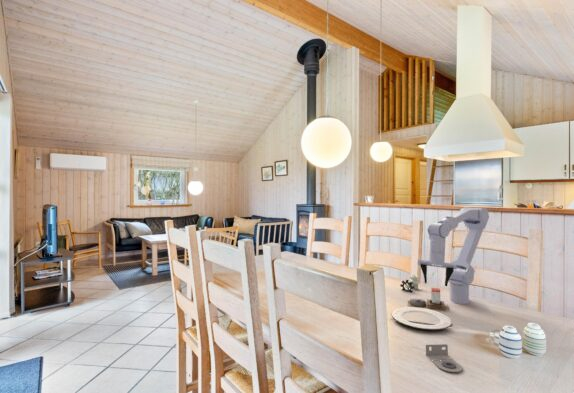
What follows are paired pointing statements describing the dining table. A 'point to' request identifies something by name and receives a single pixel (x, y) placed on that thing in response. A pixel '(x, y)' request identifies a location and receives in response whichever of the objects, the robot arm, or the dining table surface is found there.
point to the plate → (398, 317)
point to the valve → (411, 283)
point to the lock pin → (435, 296)
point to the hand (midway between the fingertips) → (435, 284)
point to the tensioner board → (427, 304)
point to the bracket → (444, 363)
